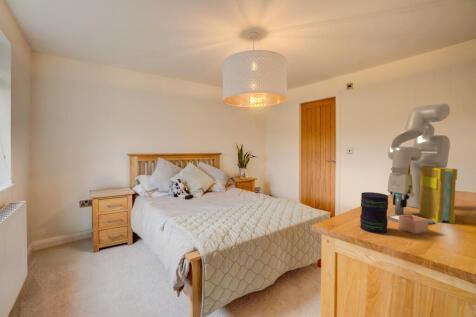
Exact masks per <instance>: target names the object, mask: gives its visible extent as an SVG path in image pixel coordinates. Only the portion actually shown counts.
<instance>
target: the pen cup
mask: <svg viewBox="0 0 476 317" xmlns="http://www.w3.org/2000/svg"><path fill="white" fill-rule="evenodd" d="M428 220H429V218H424V217H421V216H417V215H414V214H410V215H404V214H403V215H401V216H399V223H398V229H399V230H402V231H405V232H407V233H410V234H412V235H420V234H427V233H429V232H428V229H429V224H428Z"/></svg>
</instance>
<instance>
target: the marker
mask: <svg viewBox="0 0 476 317" xmlns="http://www.w3.org/2000/svg"><path fill="white" fill-rule="evenodd" d="M395 197H396V199H395V205H394V206H395V207H394V214H395V215H404V214H405V213H404V212H405V211H404V210H405V207H403V208H402V207H400V205H401V200H402V194H400V193H396V194H395Z"/></svg>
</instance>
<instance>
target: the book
mask: <svg viewBox="0 0 476 317" xmlns="http://www.w3.org/2000/svg"><path fill="white" fill-rule="evenodd" d="M458 170H459V169H457V168H450V167H446V168H442V167H434V166H421V182H420V203H419V208H418V213H419V214H420V215H422V216H424V217H426V218H427V219H429V220H431V221H434V222H435V223H440V224H443V222H446V223H448V224H451V225H452V224H455V219H456V218H455V217H456V213H455V198H456V196H455V195H456V182H457V179H458Z"/></svg>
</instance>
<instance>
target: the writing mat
mask: <svg viewBox="0 0 476 317" xmlns="http://www.w3.org/2000/svg"><path fill="white" fill-rule="evenodd" d="M403 215H411V214H410V213H407V214H405V213H404V214H403ZM399 216H401V215H396V214H395V215H387V219H388V220H390V221H393V222H396V223H398V224H399ZM434 224H436V222H435V221H433V220H431V219H428V225H434Z"/></svg>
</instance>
